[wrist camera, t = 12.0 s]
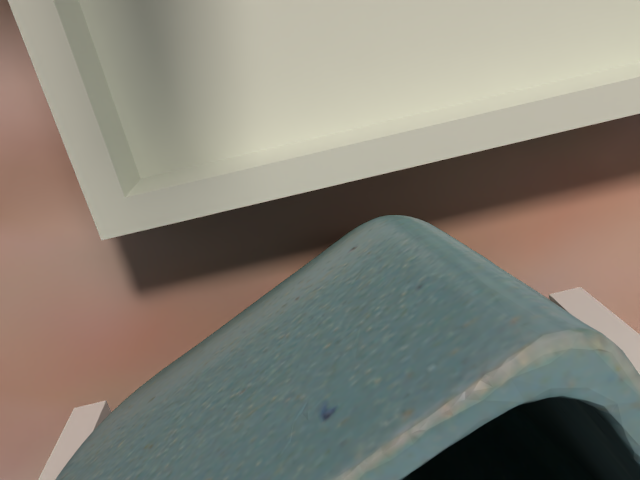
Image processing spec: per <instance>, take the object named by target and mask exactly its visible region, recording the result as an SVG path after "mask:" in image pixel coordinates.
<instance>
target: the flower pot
mask: <svg viewBox="0 0 640 480" xmlns="http://www.w3.org/2000/svg"><path fill="white" fill-rule="evenodd" d="M55 480H640V374H639V373H638V371H637V370H636V369H635V367H634V366H633V364H632V363H631V362H630V360H629V359H628V357H627V356H626V355H625V353H624V352H623V350H621V349H620V348H619V347H618V346H617V345H616V344H615V343H614V342H612V341H611V340H610V339H609V338H607V337H606V336H605V335H604V334H602V333H601V332H599V331H597V330H596V329H594V328H592V327H590V326H588V325H587V324H585V323H583V322H582V321H580V320H579V319H577V318H576V317H574V316H573V315H571V314H570V313H568V312H567V311H565V310H564V309H562V308H561V307H559V306H558V305H556V304H555V303H553V302H552V301H550V300H549V299H547V298H546V297H544V296H543V295H541V294H540V293H538V292H537V291H535V290H534V289H532V288H531V287H529V286H527V285H526V284H524V283H523V282H521V281H520V280H518V279H516V278H515V277H513V276H512V275H510V274H509V273H507V272H505V271H504V270H502V269H501V268H499V267H498V266H496V265H495V264H493V263H492V262H491V261H489V260H488V259H486V258H485V257H483V256H482V255H480V254H478V253H477V252H475V251H473V250H472V249H470V248H469V247H467V246H466V245H464V244H462V243H461V242H459V241H458V240H456V239H455V238H453V237H451V236H450V235H448V234H447V233H445V232H443V231H441V230H440V229H438V228H436V227H435V226H433V225H431V224H429V223H427V222H425V221H423V220H420V219H416V218H413V217H409V216H402V215H387V216H381V217H378V218H375V219H372V220H370V221H368V222H366V223H364V224H361V225H360V226H358V227H356V228H355V229H353V230H352V231H350V232H349V233H347V234H346V235H345V236H343V237H342V238H341V239H339V240H338V241H337V242H335V243H334V244H333V245H331V246H330V247H329V248H327V249H326V250H325V251H323V252H322V253H321V254H319V255H318V256H317V257H315V258H314V259H313V260H311V261H310V262H309V263H307V264H306V265H305V266H303V267H302V268H301V269H299V270H298V271H297V272H295V273H294V274H292V275H291V276H290V277H288V278H287V279H286V280H284V281H283V282H282V283H280V284H279V285H277V286H276V287H275V288H273V289H272V290H271V291H269V292H268V293H267V294H265V295H264V296H263V297H261V298H260V299H259V300H257V301H256V302H255V303H253V304H252V305H251V306H249V307H248V308H247V309H245V310H244V311H243V312H241V313H240V314H239V315H237V316H236V317H234V318H233V319H232V320H230V321H229V322H228V323H226V324H225V325H224V326H222V327H221V328H220V329H218V330H217V331H215V332H214V333H213V334H211V335H210V336H209V337H207V338H206V339H205V340H203V341H202V342H201V343H199V344H198V345H196V346H195V347H194V348H192V349H191V350H189V351H188V352H187V353H185V354H184V355H182V356H181V357H180V358H178V359H177V360H175V361H174V362H173V363H171V364H170V365H168V366H167V367H166V368H164V369H163V370H162V371H160V372H159V373H158V374H156V375H155V376H154V377H153V378H151V379H150V380H149V381H147V382H146V383H145V384H143V385H142V386H141V387H140V388H138V389H137V390H136V391H135V392H134V393H132V394H131V395H130V396H129V397H128V398H127V399H125V400H124V401H123V402H122V403H121V404H120V405H119V406H118V407H117V408H116V409H115V410H114V411H112V412H111V413H110V414H109V415H108V416H107V417H106V418H105V419H104V420H103V421H102V422H101V424H100V425H99V426H98V427H97V428H96V429H95V430H94V431H93V432H92V433H91V434H90V435H89V436H88V438H87V439H86V440H85V441H84V442H83V443H82V445H81V446H80V447H79V448H78V450H77V451H76V452H75V453H74V455H73V456H72V457H71V459H70V460H69V461H68V462H67V464H66V465H65V467H64V468H63V469H62V471H61V472H60V474H59V475H58V476H57V478H56V479H55Z"/></svg>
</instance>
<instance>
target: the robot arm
mask: <svg viewBox="0 0 640 480" xmlns="http://www.w3.org/2000/svg"><path fill="white" fill-rule="evenodd" d="M549 299H550V301H552V302H553V303H555V304H556V305H558V306H559V307H561V308H562V309H564V310H565V311H567V312H568V313H570V314H571V315H573V316H574V317H576V318H577V319H579V320H580V321H582V322H583V323H585V324H587V325H588V326H590V327H592V328H594V329H596V330H597V331H599V332H601V333H602V334H604V335H605V336H606V337H607V338H609V339H610V340H611V341H612V342H614V343H615V344H616V345H617V346H618V347H619V348H620V349H621V350H623V352H624V353H625V355H626V356H627V357H628V359H629V360H630V362H631V363H632V364H633V366H634V367H635V369H636V370H637V371H638V373H639V374H640V334H638V333H637V332H636V331H635V330H633V329H632V328H631V327H630V326H628V325H627V324H626V323H625V322H624V321H622V320H621V319H620V318H619V317H617V316H616V315H615V314H614V313H612V312H611V311H610V310H609V309H607V308H606V307H605V306H604V305H602V304H601V303H600V302H599V301H597V300H596V299H595V298H594V297H592V296H591V295H590V294H589V293H588V292H586V291H585V290H584V289H583V288H581V287H578V288H574V289H569V290H565V291H561V292H557V293H553V294H549ZM110 413H111V410H110V408H109V406H108V404H107V401H102V402H98V403H94V404H89V405H85V406H81V407H77V408H74V409H73V411H72V413H71V415H70V417H69V419H68V421H67V423H66V425H65V427H64V429H63V431H62V433H61V435H60V437H59V439H58V441H57V443H56V445H55V447H54V449H53V451H52V453H51V455H50V457H49V459H48V461H47V463H46V465H45V467H44V469H43V471H42V473H41V475H40V477H39V479H38V480H55V479H56V478H57V476H58V475H59V474H60V472H61V471H62V469H63V468H64V467H65V465H66V464H67V462H68V461H69V460H70V459H71V457H72V456H73V455H74V453H75V452H76V451H77V450H78V448H79V447H80V446H81V445H82V443H83V442H84V441H85V440H86V439H87V438H88V436H89V435H90V434H91V433H92V432H93V431H94V430H95V429H96V428H97V427H98V426H99V425H100V424H101V422H102V421H103V420H104V419H105V418H106V417H107V416H108V415H109V414H110Z"/></svg>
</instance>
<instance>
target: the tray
mask: <svg viewBox="0 0 640 480" xmlns="http://www.w3.org/2000/svg"><path fill="white" fill-rule="evenodd" d="M8 2H9V5H10V7H11V10H12V12H13V15H14V18H15V20H16V23H17V25H18V28H19V30H20V33H21V36H22V38H23V41H24V43H25V46H26V48H27V51H28V53H29V56H30V59H31V61H32V64H33V66H34V69H35V71H36V74H37V77H38V79H39V82H40V84H41V87H42V89H43V92H44V94H45V97H46V100H47V102H48V105H49V107H50V110H51V112H52V115H53V117H54V120H55V123H56V125H57V128H58V130H59V133H60V135H61V138H62V141H63V143H64V146H65V148H66V151H67V153H68V156H69V158H70V161H71V164H72V166H73V169H74V171H75V174H76V176H77V179H78V182H79V184H80V187H81V189H82V192H83V194H84V197H85V199H86V202H87V205H88V207H89V210H90V212H91V215H92V217H93V220H94V223H95V225H96V228H97V230H98V233H99V235H100V238H101V240H105V239H109V238H114V237H118V236H122V235H126V234H131V233H135V232H139V231H143V230H148V229H152V228H156V227H160V226H165V225H169V224H173V223H177V222H182V221H186V220H190V219H194V218H198V217H203V216H207V215H211V214H215V213H220V212H224V211H228V210H232V209H237V208H241V207H245V206H249V205H254V204H258V203H262V202H266V201H271V200H275V199H279V198H283V197H288V196H292V195H296V194H300V193H305V192H309V191H313V190H317V189H322V188H326V187H330V186H334V185H338V184H343V183H347V182H351V181H355V180H360V179H364V178H368V177H372V176H377V175H381V174H385V173H389V172H394V171H398V170H402V169H406V168H411V167H415V166H419V165H423V164H428V163H432V162H436V161H440V160H445V159H449V158H453V157H457V156H461V155H466V154H470V153H474V152H478V151H483V150H487V149H491V148H495V147H500V146H504V145H508V144H512V143H517V142H521V141H525V140H529V139H534V138H538V137H542V136H546V135H551V134H555V133H559V132H563V131H568V130H572V129H576V128H580V127H585V126H589V125H593V124H597V123H601V122H606V121H610V120H614V119H618V118H623V117H627V116H631V115H635V114H640V0H8Z"/></svg>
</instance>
